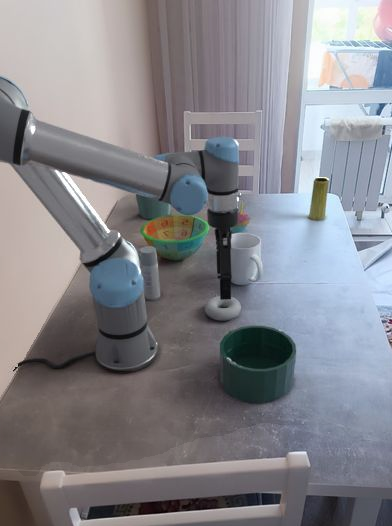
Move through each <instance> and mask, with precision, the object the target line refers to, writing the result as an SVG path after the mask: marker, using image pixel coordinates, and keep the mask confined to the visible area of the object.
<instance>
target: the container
mask: <svg viewBox="0 0 392 526" xmlns="http://www.w3.org/2000/svg"><path fill="white" fill-rule="evenodd" d="M157 255H158V254H157V253H156V248H155V247H152V246H149V245H145V246H142V247H140V249H139V258H140V263H141V268H140V269H141V274H142V276H143V282H144V286H143V289H144V298H145V300H147V301H151V302H153V301H157V300H159V299H160V298H161V297H162V296H161V285H160V276H159V275H160V274H159V263H158V256H157Z"/></svg>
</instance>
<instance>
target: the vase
mask: <svg viewBox="0 0 392 526" xmlns="http://www.w3.org/2000/svg"><path fill="white" fill-rule="evenodd" d="M329 182H330V180H329V178H327V177H315V178H314V179H313V186H312V192H311V199H310V206H309V207H310V208H309V214H308V218H309V219H310V220H313V221H322V220H325V218H326V212H327V211H326V210H327V209H326V208H327V199H328V189H329Z"/></svg>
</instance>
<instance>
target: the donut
mask: <svg viewBox="0 0 392 526" xmlns="http://www.w3.org/2000/svg"><path fill="white" fill-rule="evenodd" d="M241 310H242V307H241V303H240V302H239V301H238V299H236V298H235V297H232V296H231V299H227V300H220V295H216V296H213V297H211V298H209V299H208V300H207V301H206V302H205V304H204V312H205V314H206V315H207V317H209V318H210V319H212V320H214V321H221V322H223V321H224V322H226V321H230V320H233V319H235V318H237V317H238V316H239V315H240V313H241Z"/></svg>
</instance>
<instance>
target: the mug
mask: <svg viewBox="0 0 392 526" xmlns="http://www.w3.org/2000/svg"><path fill="white" fill-rule="evenodd" d="M261 253H262V239H261V238H260V237H259V236H258V235H255V234H253V233H249V232H244V233H232V239H231V275H232V279H231V284H234V285H237V286H246V285H249V284H251V283H258V282H260V281H262V279H263V278H264V265H263V262H262V260H261V255H262V254H261ZM256 276H257V278H256Z"/></svg>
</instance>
